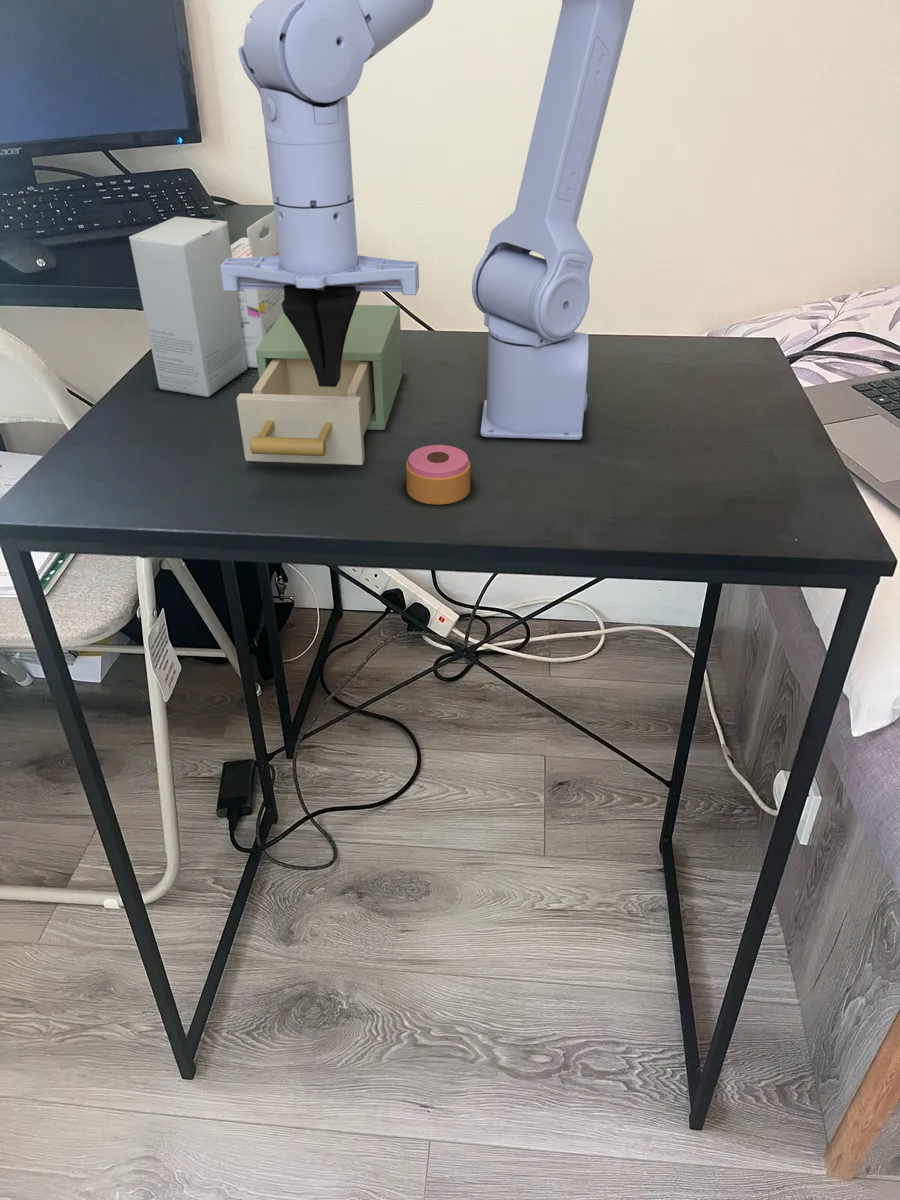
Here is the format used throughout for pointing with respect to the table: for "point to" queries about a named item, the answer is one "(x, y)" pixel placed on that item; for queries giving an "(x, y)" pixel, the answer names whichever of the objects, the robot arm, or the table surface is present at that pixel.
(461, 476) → the donut
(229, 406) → the table surface
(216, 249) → the cosmetic box
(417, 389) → the table surface
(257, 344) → the ink cartridge box
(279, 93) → the robot arm
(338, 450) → the drawer
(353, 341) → the cabinet
